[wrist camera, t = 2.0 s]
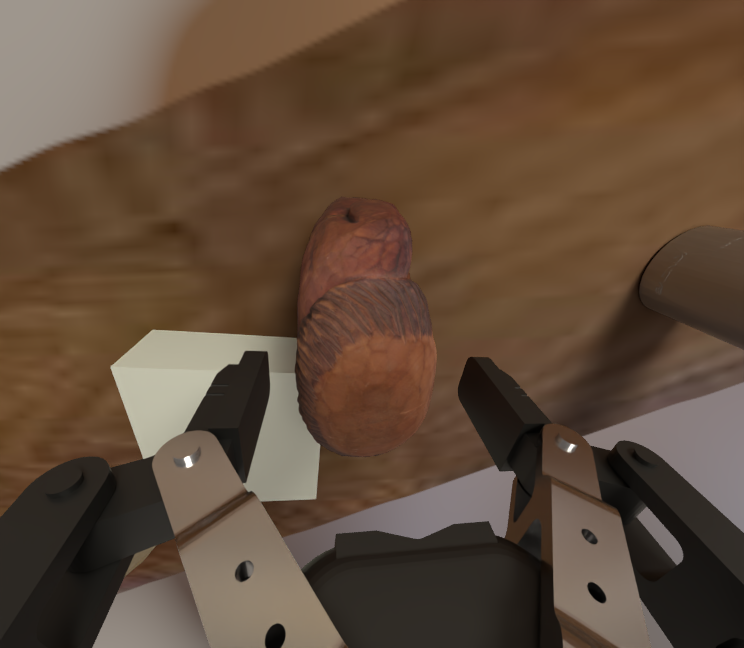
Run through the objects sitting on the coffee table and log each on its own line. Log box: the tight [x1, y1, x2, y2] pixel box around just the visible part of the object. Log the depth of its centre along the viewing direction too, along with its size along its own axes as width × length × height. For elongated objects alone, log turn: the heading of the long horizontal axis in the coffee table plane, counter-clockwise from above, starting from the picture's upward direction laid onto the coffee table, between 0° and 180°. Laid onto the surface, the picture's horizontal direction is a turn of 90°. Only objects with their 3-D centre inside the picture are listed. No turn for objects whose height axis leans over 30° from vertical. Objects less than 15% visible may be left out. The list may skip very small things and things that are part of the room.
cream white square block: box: [111, 330, 320, 501], centre depth 29 cm, size 16×18×6 cm
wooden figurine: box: [295, 197, 437, 457], centre depth 17 cm, size 12×6×18 cm, turn 176°
